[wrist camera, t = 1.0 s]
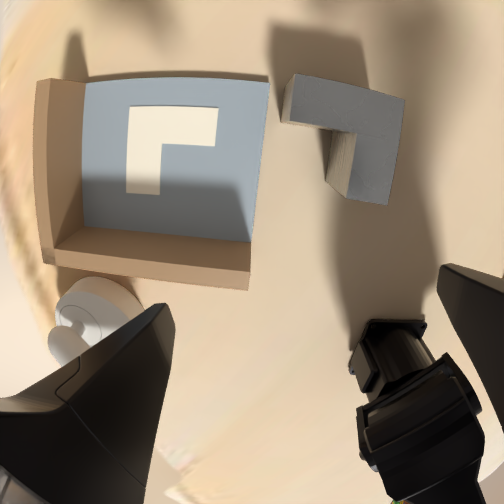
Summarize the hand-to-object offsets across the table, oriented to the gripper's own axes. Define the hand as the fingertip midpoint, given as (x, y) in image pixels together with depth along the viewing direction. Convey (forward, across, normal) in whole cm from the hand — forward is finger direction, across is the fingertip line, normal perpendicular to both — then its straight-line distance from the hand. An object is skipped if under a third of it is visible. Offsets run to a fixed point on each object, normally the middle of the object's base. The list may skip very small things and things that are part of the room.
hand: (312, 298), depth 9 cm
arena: (+12, +8, -4) cm, 15 cm away
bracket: (+12, -3, -4) cm, 13 cm away
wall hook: (+13, +16, +8) cm, 22 cm away
